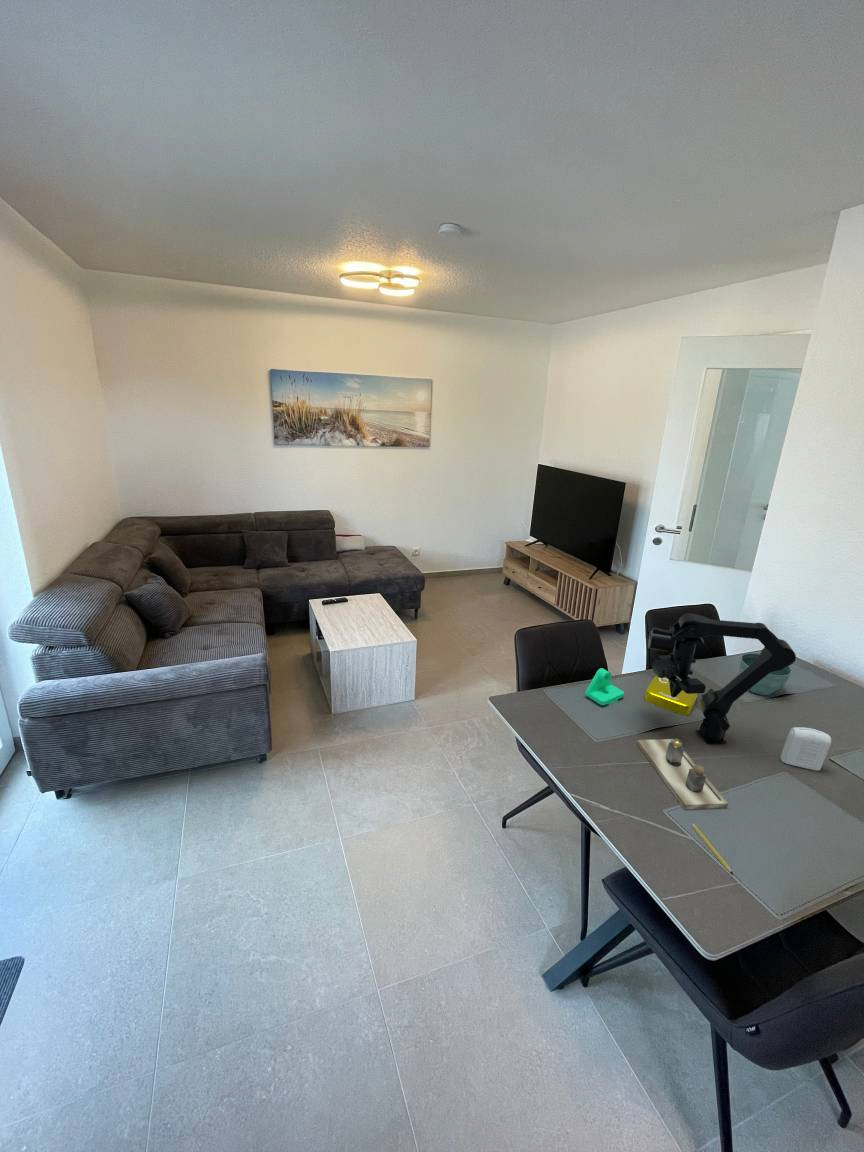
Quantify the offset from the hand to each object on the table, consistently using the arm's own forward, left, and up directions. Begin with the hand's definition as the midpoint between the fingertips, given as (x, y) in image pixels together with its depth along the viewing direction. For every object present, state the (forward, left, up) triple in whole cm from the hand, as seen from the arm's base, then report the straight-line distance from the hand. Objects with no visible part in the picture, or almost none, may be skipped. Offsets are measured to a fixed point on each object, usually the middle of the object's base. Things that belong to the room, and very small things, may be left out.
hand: (673, 696), depth 160 cm
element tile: (-11, -16, -13) cm, 23 cm away
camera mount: (+13, -18, -12) cm, 25 cm away
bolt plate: (+8, +20, -12) cm, 25 cm away
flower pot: (-49, -22, -12) cm, 55 cm away
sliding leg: (+8, +17, -10) cm, 21 cm away
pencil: (+14, +46, -13) cm, 49 cm away
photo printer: (-32, +18, -12) cm, 39 cm away
